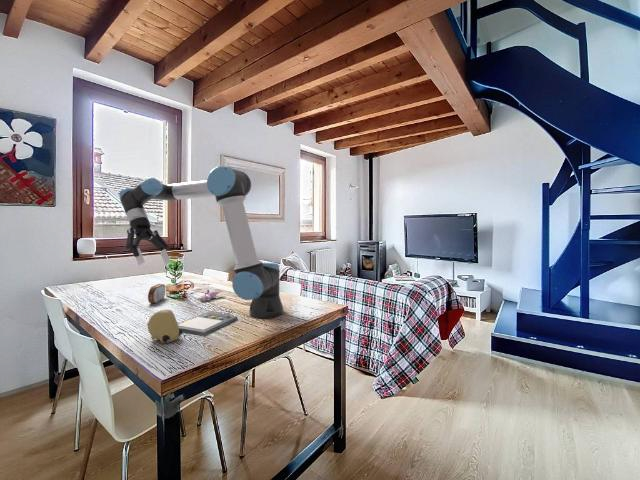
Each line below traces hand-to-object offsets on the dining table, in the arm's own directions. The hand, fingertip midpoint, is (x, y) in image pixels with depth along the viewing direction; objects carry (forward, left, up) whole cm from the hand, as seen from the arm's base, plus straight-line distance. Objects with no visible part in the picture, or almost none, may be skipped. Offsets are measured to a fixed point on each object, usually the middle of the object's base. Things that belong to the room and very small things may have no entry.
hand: (155, 263), depth 132 cm
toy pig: (-23, +17, -24) cm, 37 cm away
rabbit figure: (0, -33, -24) cm, 41 cm away
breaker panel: (-25, -1, -23) cm, 34 cm away
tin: (+22, -19, -24) cm, 38 cm away
